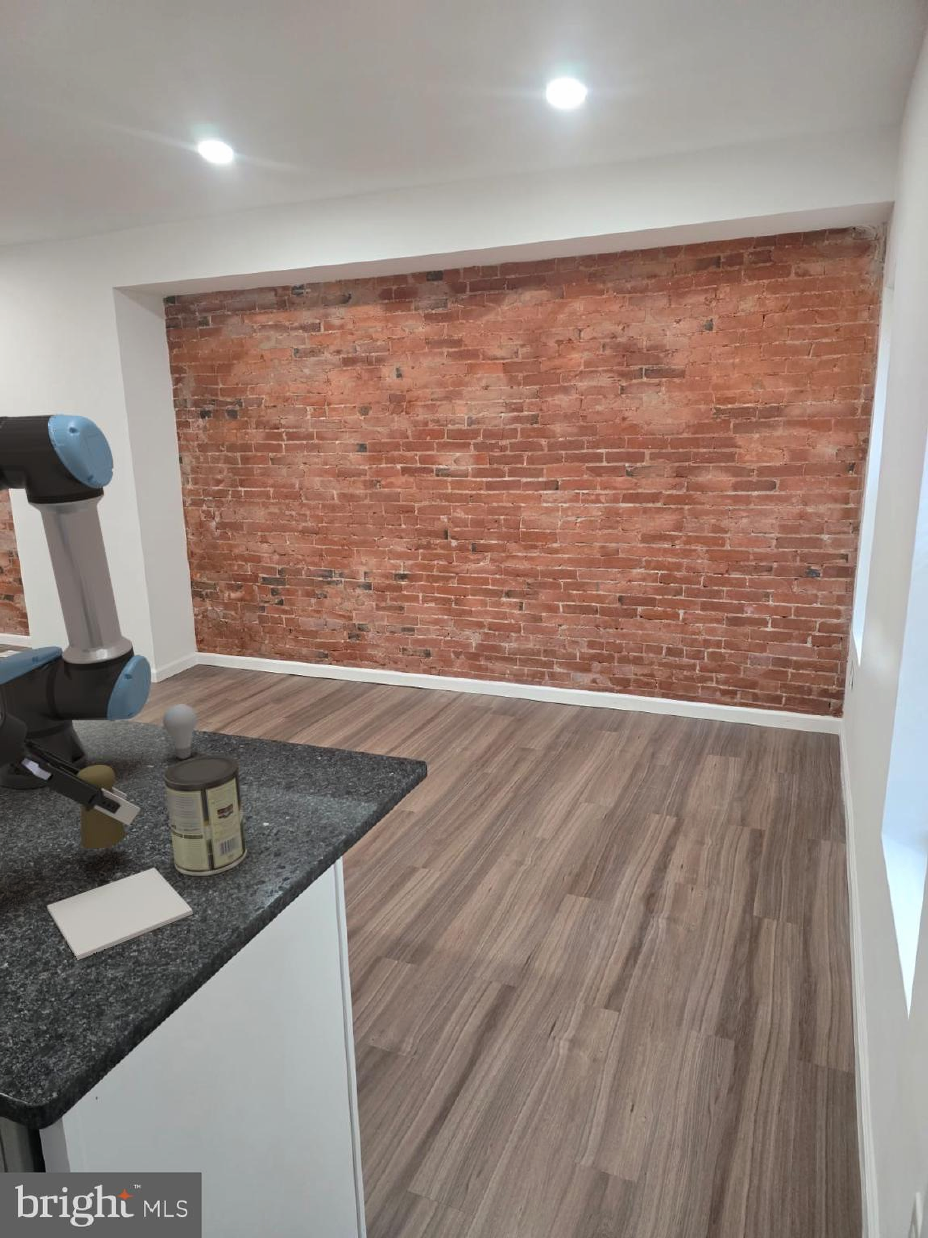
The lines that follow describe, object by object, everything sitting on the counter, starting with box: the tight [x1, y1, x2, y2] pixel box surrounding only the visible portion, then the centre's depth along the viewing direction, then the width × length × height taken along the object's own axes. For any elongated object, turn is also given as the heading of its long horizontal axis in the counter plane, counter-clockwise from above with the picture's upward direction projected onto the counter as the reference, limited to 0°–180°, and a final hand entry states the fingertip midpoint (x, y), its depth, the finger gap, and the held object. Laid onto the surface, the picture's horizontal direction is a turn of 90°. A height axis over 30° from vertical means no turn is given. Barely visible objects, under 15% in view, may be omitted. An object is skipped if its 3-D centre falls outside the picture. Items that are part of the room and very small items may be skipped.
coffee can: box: [162, 754, 248, 877], centre depth 115 cm, size 10×10×14 cm
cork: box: [77, 764, 127, 850], centre depth 115 cm, size 6×6×11 cm
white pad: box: [47, 867, 194, 961], centre depth 104 cm, size 14×14×1 cm
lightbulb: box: [162, 703, 198, 760], centre depth 153 cm, size 6×6×11 cm
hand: (127, 809), depth 117 cm, fingers closed on cork, 5 cm apart
